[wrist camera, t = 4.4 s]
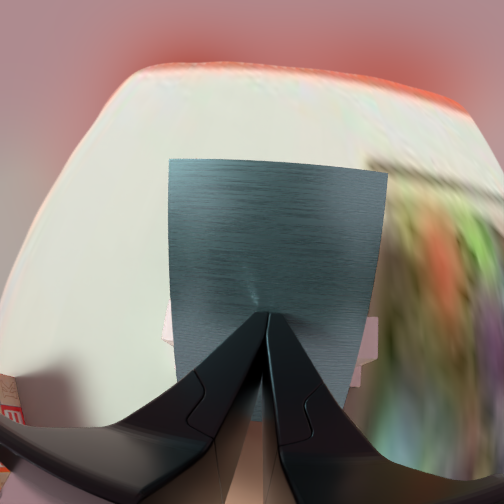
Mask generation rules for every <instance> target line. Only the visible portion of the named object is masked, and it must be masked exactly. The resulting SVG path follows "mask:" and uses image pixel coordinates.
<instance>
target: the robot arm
mask: <svg viewBox="0 0 504 504" xmlns="http://www.w3.org/2000/svg"><path fill="white" fill-rule="evenodd" d="M261 380H262V443H263V504H504V474H494V475H490V476H487V477H484V478H481V479H477V480H471V481H459V480H452V479H447V478H443V477H440V476H436V475H432V474H429V473H425V472H422V471H419V470H416V469H412V468H409V467H406V466H403V465H400V464H397V463H394V462H392V461H390V460H388V459H387V458H385V457H384V456H382V455H381V454H380V453H379V452H378V451H377V450H376V449H375V448H374V447H373V446H372V444H371V443H370V442H369V441H368V440H367V439H366V437H365V436H364V435H363V434H362V433H361V431H360V430H359V429H358V428H357V427H356V426H355V424H354V423H353V422H352V421H351V420H350V418H349V417H348V416H347V415H346V413H345V412H344V411H343V410H342V408H341V407H340V406H339V404H338V403H337V401H336V400H335V398H334V397H333V395H332V394H331V392H330V391H329V389H328V387H327V386H326V384H325V383H324V381H323V379H322V378H321V376H320V374H319V373H318V371H317V370H316V368H315V366H314V365H313V363H312V361H311V360H310V358H309V356H308V355H307V353H306V351H305V350H304V348H303V346H302V345H301V343H300V342H299V340H298V338H297V337H296V335H295V333H294V332H293V330H292V328H291V327H290V325H289V323H288V322H287V320H286V318H285V317H284V315H283V314H279V313H270V314H269V315H268V313H266V312H254V313H253V314H252V315H251V316H250V317H249V318H248V319H246V320H245V321H244V322H243V323H242V324H241V325H240V326H239V327H238V328H237V329H236V330H235V331H234V332H233V333H232V334H231V335H229V336H228V337H227V338H226V339H225V340H224V341H223V342H222V343H221V344H220V345H219V346H218V347H217V348H215V349H214V350H213V351H212V352H211V353H210V354H209V355H208V356H207V357H206V358H204V359H203V360H202V361H201V362H200V363H199V364H198V365H197V366H196V367H195V368H194V369H193V370H191V371H190V372H189V373H188V374H187V375H185V376H184V377H183V378H182V379H181V380H180V381H178V382H177V383H176V384H175V385H174V386H172V387H171V388H170V389H168V390H167V391H165V392H164V393H163V394H161V395H160V396H158V397H157V398H155V399H154V400H152V401H151V402H149V403H148V404H146V405H145V406H143V407H142V408H140V409H139V410H137V411H135V412H134V413H132V414H131V415H129V416H128V417H126V418H124V419H123V420H121V421H119V422H117V423H114V424H112V425H109V426H104V427H90V428H48V427H33V426H28V425H23V424H20V423H17V422H15V421H13V420H11V419H9V418H8V417H6V416H4V415H3V414H1V413H0V462H1V463H2V464H3V465H4V466H5V467H6V468H7V469H8V470H9V471H10V473H9V475H8V477H7V479H6V480H5V482H4V484H3V485H2V487H1V489H0V504H225V501H226V498H227V495H228V492H229V489H230V486H231V483H232V480H233V477H234V474H235V470H236V467H237V464H238V461H239V457H240V454H241V451H242V448H243V444H244V441H245V438H246V434H247V431H248V428H249V424H250V421H251V417H252V414H253V410H254V407H255V403H256V400H257V396H258V393H259V389H260V385H261Z"/></svg>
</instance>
